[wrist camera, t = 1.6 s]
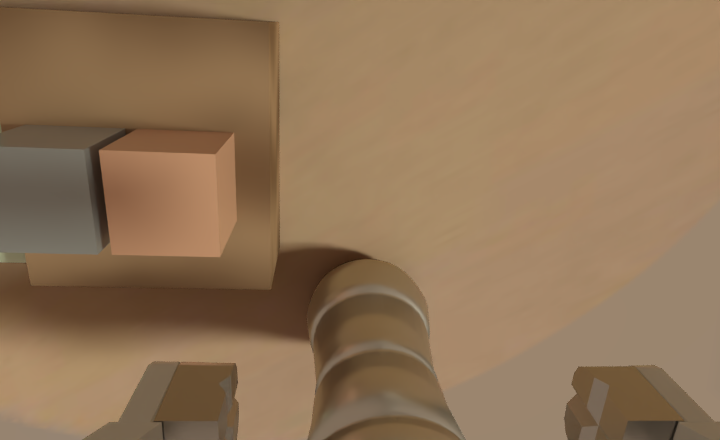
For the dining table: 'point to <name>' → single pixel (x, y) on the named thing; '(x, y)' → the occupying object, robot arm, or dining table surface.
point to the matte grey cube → (53, 189)
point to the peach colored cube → (170, 192)
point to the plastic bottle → (374, 358)
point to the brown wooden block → (154, 122)
